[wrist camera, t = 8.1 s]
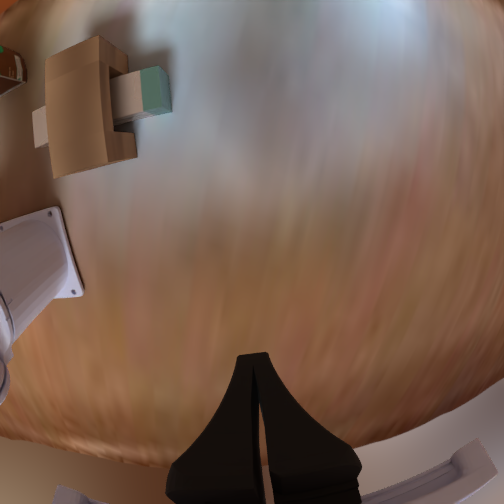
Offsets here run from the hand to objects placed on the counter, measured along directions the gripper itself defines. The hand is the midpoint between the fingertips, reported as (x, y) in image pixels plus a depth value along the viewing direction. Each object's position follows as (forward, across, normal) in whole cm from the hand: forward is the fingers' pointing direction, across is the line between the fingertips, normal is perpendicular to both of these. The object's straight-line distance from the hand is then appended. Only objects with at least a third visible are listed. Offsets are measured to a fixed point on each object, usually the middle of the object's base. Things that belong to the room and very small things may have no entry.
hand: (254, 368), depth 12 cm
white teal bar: (+10, +9, -14) cm, 19 cm away
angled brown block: (+10, +8, -14) cm, 19 cm away
